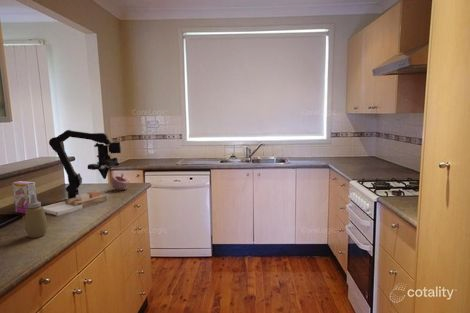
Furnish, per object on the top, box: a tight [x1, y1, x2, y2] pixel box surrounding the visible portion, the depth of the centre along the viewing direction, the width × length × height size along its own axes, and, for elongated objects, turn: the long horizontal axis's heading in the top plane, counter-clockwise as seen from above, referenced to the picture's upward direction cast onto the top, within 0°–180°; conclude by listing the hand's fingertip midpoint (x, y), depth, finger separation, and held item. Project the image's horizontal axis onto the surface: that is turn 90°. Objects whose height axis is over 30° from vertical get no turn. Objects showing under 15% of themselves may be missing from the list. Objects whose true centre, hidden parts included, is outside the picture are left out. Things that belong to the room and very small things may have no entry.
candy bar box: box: [11, 180, 38, 214], centre depth 163 cm, size 11×5×16 cm, turn 71°
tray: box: [42, 200, 83, 217], centre depth 168 cm, size 16×14×2 cm
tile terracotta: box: [86, 190, 101, 198], centre depth 185 cm, size 5×5×2 cm
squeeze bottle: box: [24, 194, 48, 239], centre depth 131 cm, size 8×8×18 cm
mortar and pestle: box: [110, 173, 130, 191], centre depth 211 cm, size 12×12×11 cm
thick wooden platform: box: [66, 194, 107, 209], centre depth 181 cm, size 14×16×3 cm
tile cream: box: [76, 192, 89, 200], centre depth 178 cm, size 5×5×2 cm
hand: (104, 178), depth 191 cm, fingers closed
